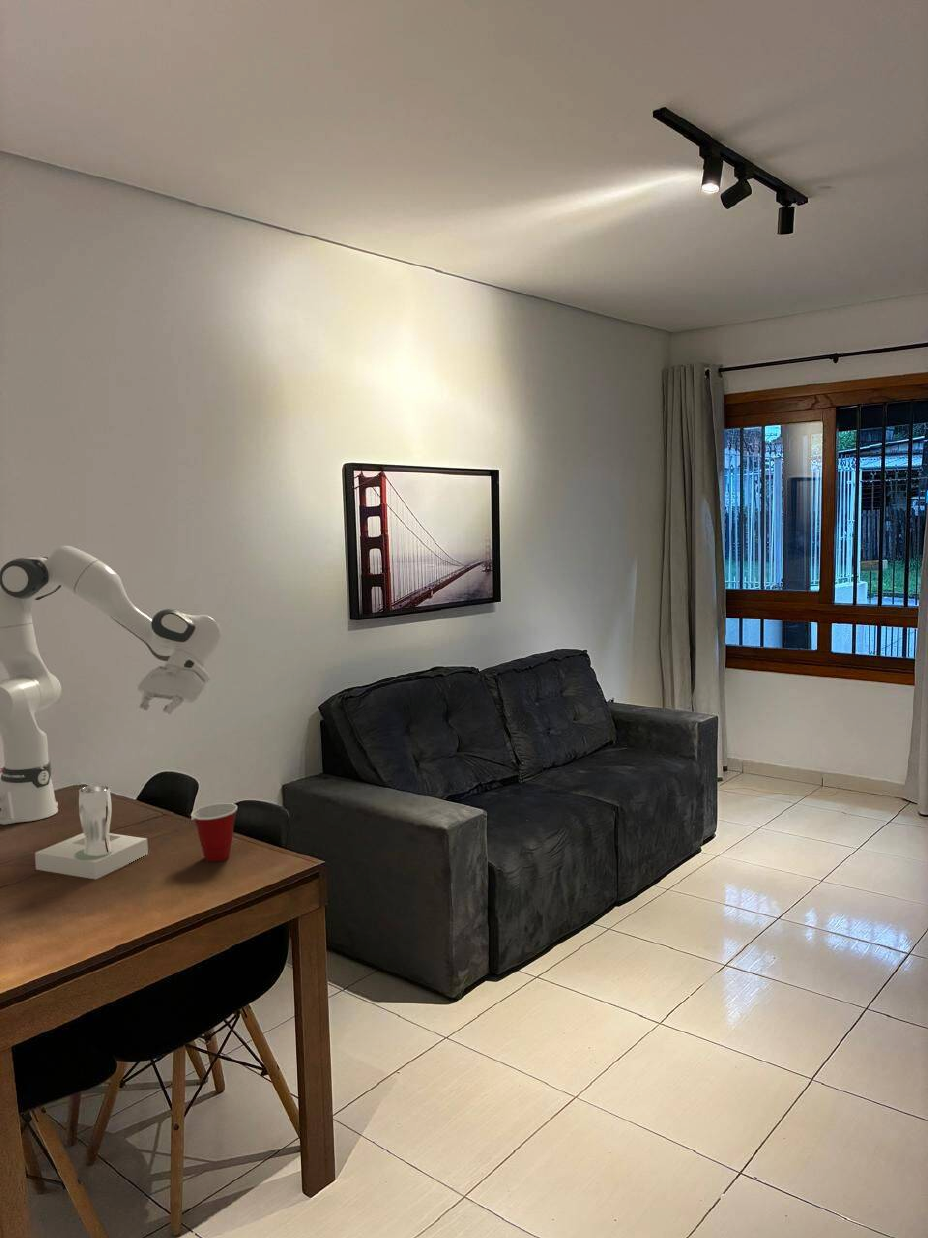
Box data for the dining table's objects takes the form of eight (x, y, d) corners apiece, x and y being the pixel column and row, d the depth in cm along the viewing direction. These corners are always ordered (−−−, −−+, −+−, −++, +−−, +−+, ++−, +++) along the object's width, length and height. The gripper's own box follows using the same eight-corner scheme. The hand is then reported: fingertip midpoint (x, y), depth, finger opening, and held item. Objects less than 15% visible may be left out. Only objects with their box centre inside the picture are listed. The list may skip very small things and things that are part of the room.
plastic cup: (191, 853, 226) (188, 805, 225) (236, 847, 230) (234, 800, 228) (194, 868, 216) (192, 818, 215) (242, 862, 220) (240, 812, 218)
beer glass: (118, 847, 218) (114, 784, 217) (107, 857, 211) (104, 793, 210) (88, 847, 218) (84, 785, 217) (76, 858, 211) (73, 793, 210)
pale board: (36, 869, 216) (34, 851, 216) (90, 846, 232) (89, 829, 232) (96, 879, 210) (95, 861, 209) (148, 854, 225) (147, 837, 225)
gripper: (149, 658, 253) (121, 700, 246) (201, 664, 242) (172, 707, 235) (163, 672, 257) (135, 713, 250) (215, 678, 246) (187, 721, 239)
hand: (154, 710), depth 242 cm, fingers open, 8 cm apart
